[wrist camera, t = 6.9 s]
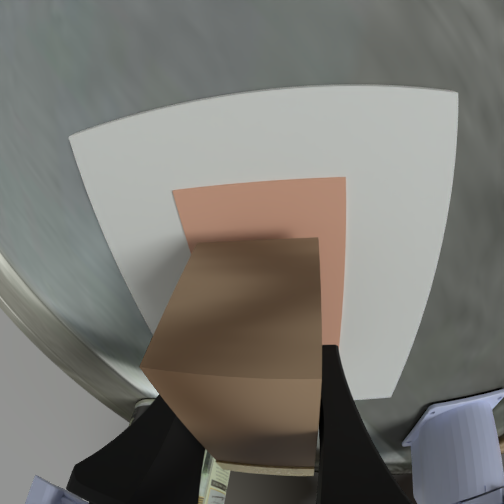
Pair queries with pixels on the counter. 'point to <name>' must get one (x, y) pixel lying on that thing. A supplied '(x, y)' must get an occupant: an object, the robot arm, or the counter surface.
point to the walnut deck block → (245, 353)
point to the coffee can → (212, 473)
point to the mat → (289, 200)
